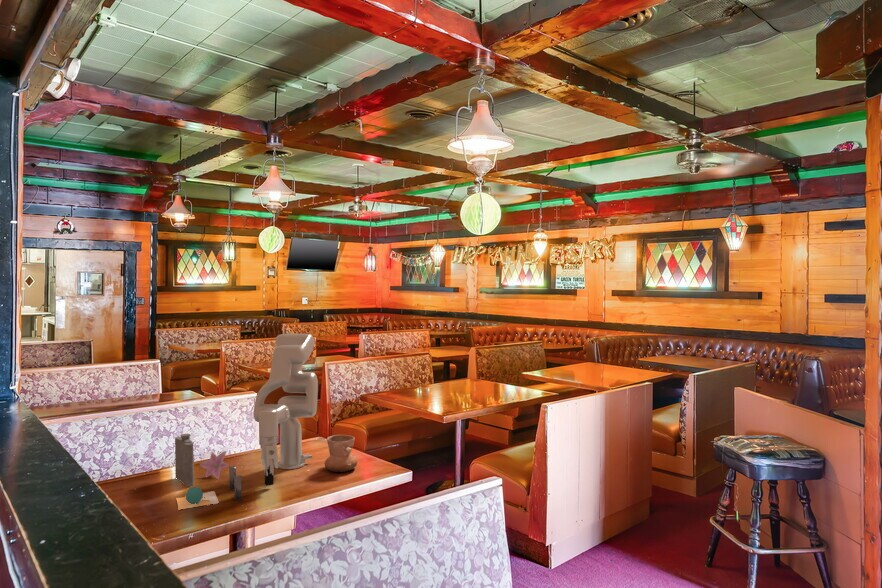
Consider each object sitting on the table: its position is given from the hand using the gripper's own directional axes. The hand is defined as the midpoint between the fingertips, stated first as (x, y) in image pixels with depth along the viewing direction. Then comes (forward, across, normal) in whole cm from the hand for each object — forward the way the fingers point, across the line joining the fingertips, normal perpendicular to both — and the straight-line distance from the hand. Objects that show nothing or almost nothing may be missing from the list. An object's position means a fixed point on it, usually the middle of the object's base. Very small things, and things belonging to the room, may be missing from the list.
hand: (269, 484), depth 230 cm
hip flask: (+2, +25, +29) cm, 38 cm away
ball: (-2, -2, +28) cm, 28 cm away
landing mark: (+2, 0, +27) cm, 27 cm away
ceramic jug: (+2, +9, -33) cm, 34 cm away
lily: (+2, +27, +17) cm, 32 cm away
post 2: (+2, -6, +13) cm, 15 cm away
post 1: (+2, +7, +13) cm, 15 cm away
